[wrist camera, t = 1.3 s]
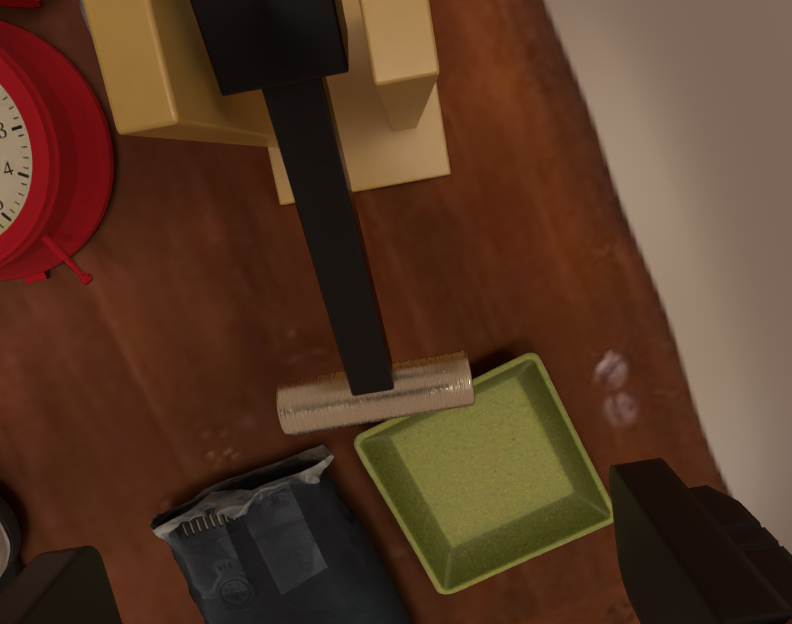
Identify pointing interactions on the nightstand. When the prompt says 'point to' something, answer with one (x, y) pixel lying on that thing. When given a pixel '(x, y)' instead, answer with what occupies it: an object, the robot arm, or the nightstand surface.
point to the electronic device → (280, 550)
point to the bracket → (247, 112)
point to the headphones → (8, 545)
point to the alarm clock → (47, 156)
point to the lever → (324, 211)
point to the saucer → (487, 477)
